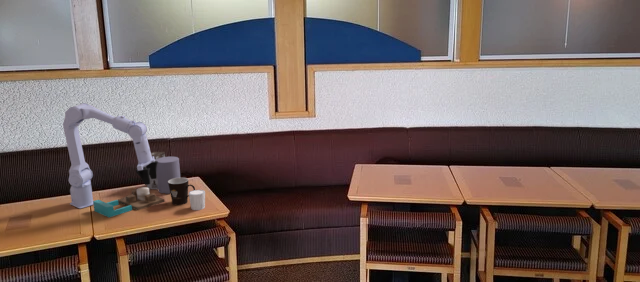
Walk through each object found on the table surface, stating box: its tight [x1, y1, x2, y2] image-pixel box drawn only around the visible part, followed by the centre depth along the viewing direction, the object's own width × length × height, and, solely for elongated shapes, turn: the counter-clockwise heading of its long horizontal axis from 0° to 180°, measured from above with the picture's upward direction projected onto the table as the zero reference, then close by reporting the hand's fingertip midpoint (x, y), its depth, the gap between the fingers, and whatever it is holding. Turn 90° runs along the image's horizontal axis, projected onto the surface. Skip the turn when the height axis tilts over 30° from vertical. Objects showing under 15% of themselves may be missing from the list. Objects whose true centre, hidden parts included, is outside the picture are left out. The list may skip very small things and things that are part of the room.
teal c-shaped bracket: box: [93, 199, 133, 218], centre depth 220 cm, size 10×12×4 cm
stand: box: [117, 186, 165, 211], centre depth 230 cm, size 13×16×6 cm
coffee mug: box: [168, 177, 196, 206], centre depth 226 cm, size 12×9×10 cm
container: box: [156, 156, 181, 195], centre depth 243 cm, size 10×10×15 cm
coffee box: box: [145, 151, 166, 190], centre depth 249 cm, size 9×6×16 cm
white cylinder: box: [188, 189, 206, 211], centre depth 221 cm, size 7×7×7 cm
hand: (150, 181), depth 224 cm, fingers open, 7 cm apart
